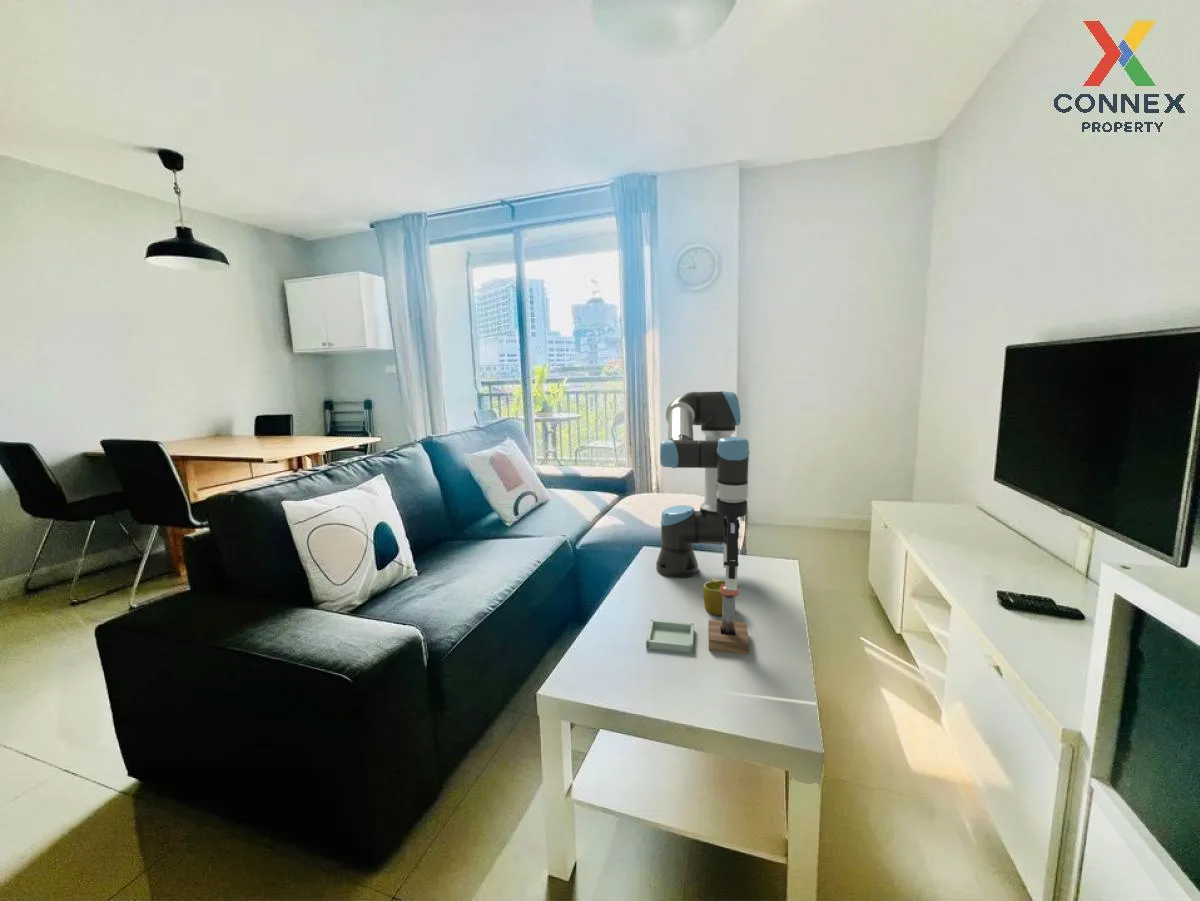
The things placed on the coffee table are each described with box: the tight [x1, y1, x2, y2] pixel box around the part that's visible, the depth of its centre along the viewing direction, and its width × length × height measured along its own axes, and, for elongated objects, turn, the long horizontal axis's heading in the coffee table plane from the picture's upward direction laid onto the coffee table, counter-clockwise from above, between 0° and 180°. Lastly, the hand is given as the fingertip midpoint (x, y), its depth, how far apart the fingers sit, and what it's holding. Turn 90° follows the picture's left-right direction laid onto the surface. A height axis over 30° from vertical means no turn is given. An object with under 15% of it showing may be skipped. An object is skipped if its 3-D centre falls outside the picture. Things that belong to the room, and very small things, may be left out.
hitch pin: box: [720, 583, 740, 636], centre depth 123 cm, size 5×5×16 cm
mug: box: [702, 578, 726, 617], centre depth 142 cm, size 12×10×10 cm
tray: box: [645, 619, 695, 654], centre depth 126 cm, size 11×12×2 cm
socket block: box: [707, 619, 750, 656], centre depth 124 cm, size 10×10×4 cm
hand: (729, 578), depth 121 cm, fingers open, 13 cm apart
